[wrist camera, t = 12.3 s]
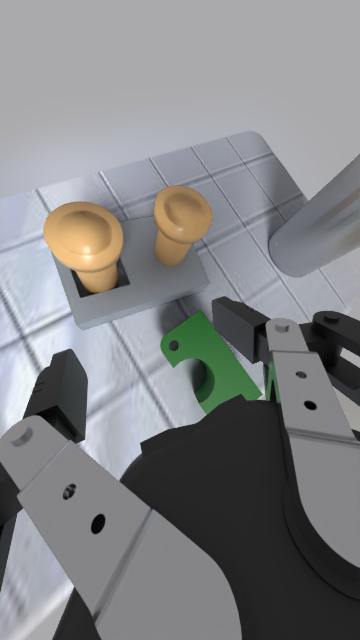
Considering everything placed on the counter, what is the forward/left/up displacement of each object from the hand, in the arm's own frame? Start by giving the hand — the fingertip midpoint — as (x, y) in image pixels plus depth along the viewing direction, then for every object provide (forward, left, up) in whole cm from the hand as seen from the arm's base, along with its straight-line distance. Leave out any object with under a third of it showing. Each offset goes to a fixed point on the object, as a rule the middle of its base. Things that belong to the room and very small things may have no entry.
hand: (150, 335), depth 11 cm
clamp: (-6, +4, -14) cm, 16 cm away
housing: (-3, -10, -14) cm, 18 cm away
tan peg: (+1, -10, -13) cm, 17 cm away
